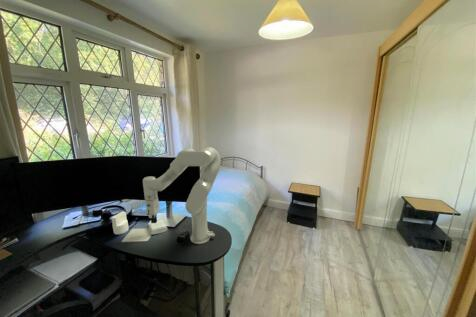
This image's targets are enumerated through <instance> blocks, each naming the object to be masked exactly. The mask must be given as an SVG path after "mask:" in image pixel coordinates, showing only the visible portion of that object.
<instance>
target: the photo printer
mask: <svg viewBox="0 0 476 317" xmlns="http://www.w3.org/2000/svg"><path fill="white" fill-rule="evenodd" d="M147 226H148V228H149V229H150V231H151V233H152V235H157V234H162V233H165V232H167V231H168V227H167V225H166V224H165V222H164V219H163V220H161V219H160V220H158V219H157V222H156V223H151V221H150V222H148V225H147Z"/></svg>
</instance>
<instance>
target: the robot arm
mask: <svg viewBox="0 0 476 317" xmlns="http://www.w3.org/2000/svg"><path fill="white" fill-rule="evenodd" d="M221 162H222V160H221V156H220V153H219V152H218V150H217V149H215V148H214V147H212V146H209V147H208V146H207V147H204V148H203V149H202V150H195V149H193V148H192V147H186V148H184V149H182V150H180V151H179V152H178V153H177V155H176V157H175V159H174V160H172V162H171V163H170V164H169V168H168V169H167V170H166V172H164V173H163V174H162V175H160V176H159V177H157V178H156V176H152V175H151V176H145V177H144V178H143V179H142V187H143V193H144V194H143V195H144V200H145V210H146V215H147V216H148V218H149V219H150V222H151V223H156V222H157V221H158V219H157V217H158V216H157V213H158V212H159V211H160V208H161V207H160V202H159V196H158V192H162V191H163V190H165V189H166V188H168V187H169V186H170V185H171V184H172V183H173V182H174V181H175V180H176V179H177V178H178V177H179V176H180V175H182V173H183V172H184V171H185V170H186V169H187V168H188V167H204V168H203V170H202V173H201V175H200V178H199V179H198V180H197V181H196V182H195V183H194V185H193V186H192V188H191V190H190V193H189V194H188V198H187V199H186V202H185V211H186V212H187V213H188V214H190V217H191V230H192V234H191V235H190V236H189V238H190V241H191V243H193V244H197V245H200V244H205V243H207V242H209V241H210V238H211V237H215V235H216V234H215V233H214V231H210V229H209V228H208V212H207V211H208V208H207V207H208V195H209V194H210V193H211V190H212V188H213V185H214V183H215V181H216V178H217V176H218V174H219V171H220V169H221Z"/></svg>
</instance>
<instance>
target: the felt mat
mask: <svg viewBox="0 0 476 317" xmlns="http://www.w3.org/2000/svg"><path fill="white" fill-rule="evenodd" d="M152 235H153V234H152V233H151V231H150V229H149V227H148V228H147V227H145V228H144V227H143V228H132V229H131V230H130V231H129V232H128V233H127V235H125V237H124V238H123V239H122V240H121V243H132V242H133V243H134V242H135V243H137V242H140V243H141V242H144V243H145V242H148V241H149V240H150V238H151V237H152Z"/></svg>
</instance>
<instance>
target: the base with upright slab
mask: <svg viewBox="0 0 476 317" xmlns="http://www.w3.org/2000/svg"><path fill="white" fill-rule="evenodd" d="M111 221H112V230H113V234H114V235H122V234H125V233H127V232H128V231H129V228H130V227H129V222H128V219H127V212H126V211H121V212H118V213H117V214H115V215H114V216H112V217H111Z"/></svg>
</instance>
